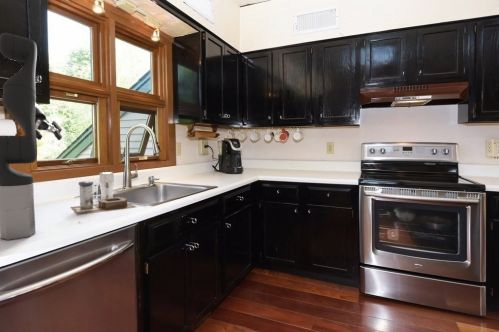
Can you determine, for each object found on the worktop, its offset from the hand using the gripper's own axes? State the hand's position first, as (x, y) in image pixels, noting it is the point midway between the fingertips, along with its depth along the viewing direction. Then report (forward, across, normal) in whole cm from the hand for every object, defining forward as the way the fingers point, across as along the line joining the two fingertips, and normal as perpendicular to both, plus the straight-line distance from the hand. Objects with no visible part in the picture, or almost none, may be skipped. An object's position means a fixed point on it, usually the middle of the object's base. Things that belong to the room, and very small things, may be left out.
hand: (50, 138), depth 123 cm
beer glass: (+23, +30, +24) cm, 44 cm away
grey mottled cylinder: (+31, +6, +13) cm, 34 cm away
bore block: (+34, +12, +12) cm, 38 cm away
